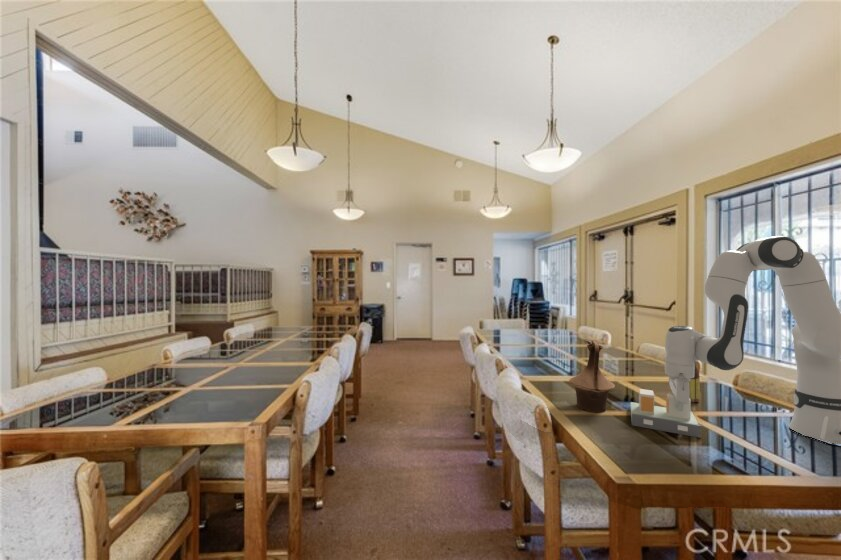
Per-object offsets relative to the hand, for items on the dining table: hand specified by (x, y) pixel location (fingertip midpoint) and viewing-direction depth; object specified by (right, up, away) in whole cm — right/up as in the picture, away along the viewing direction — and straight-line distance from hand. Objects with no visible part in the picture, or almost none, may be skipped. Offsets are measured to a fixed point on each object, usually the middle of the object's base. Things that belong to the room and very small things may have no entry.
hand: (678, 407), depth 131 cm
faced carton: (-9, -3, +5) cm, 10 cm away
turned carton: (0, -3, 0) cm, 3 cm away
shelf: (-5, -6, +2) cm, 8 cm away
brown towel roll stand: (-25, -6, +15) cm, 30 cm away
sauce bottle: (+22, -6, +23) cm, 33 cm away
